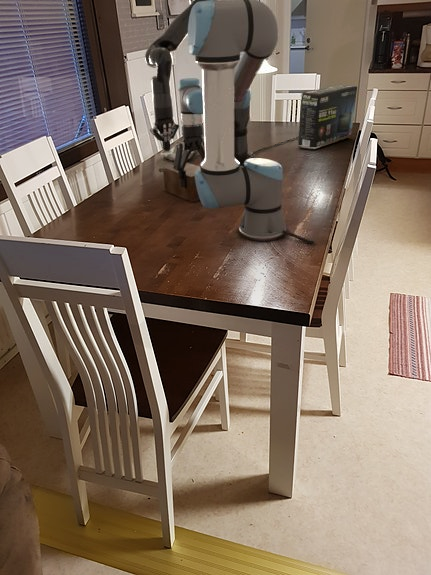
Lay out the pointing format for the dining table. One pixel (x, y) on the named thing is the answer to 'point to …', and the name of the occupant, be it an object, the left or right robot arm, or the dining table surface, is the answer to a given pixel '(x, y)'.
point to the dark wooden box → (175, 183)
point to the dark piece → (164, 174)
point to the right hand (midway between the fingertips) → (195, 183)
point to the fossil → (172, 153)
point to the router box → (326, 115)
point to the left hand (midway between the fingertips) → (166, 150)
